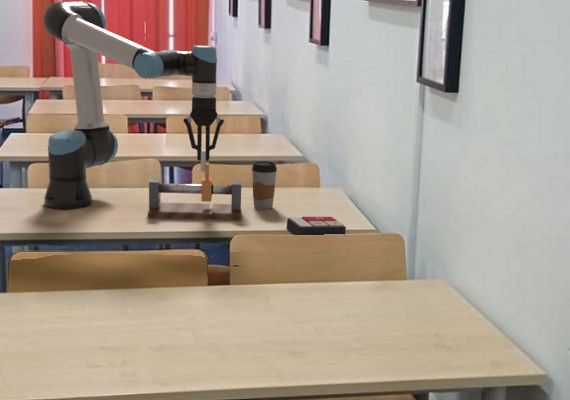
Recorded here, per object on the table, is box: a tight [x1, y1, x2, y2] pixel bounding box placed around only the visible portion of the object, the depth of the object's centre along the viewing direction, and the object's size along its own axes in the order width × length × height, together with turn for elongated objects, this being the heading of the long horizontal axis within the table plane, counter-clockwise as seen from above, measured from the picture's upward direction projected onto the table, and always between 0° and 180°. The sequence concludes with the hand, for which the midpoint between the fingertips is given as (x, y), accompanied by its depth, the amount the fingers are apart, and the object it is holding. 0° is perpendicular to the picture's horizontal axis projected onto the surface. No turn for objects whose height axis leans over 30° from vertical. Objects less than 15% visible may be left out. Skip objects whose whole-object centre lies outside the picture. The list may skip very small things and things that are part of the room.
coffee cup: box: [251, 160, 278, 210], centre depth 272 cm, size 8×8×15 cm
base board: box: [147, 202, 242, 221], centre depth 263 cm, size 29×14×2 cm, turn 93°
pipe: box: [148, 177, 242, 213], centre depth 262 cm, size 29×6×9 cm, turn 93°
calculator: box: [286, 216, 347, 236], centre depth 247 cm, size 11×4×15 cm
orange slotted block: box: [201, 162, 213, 203], centre depth 261 cm, size 3×6×11 cm, turn 3°
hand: (203, 170), depth 260 cm, fingers closed
